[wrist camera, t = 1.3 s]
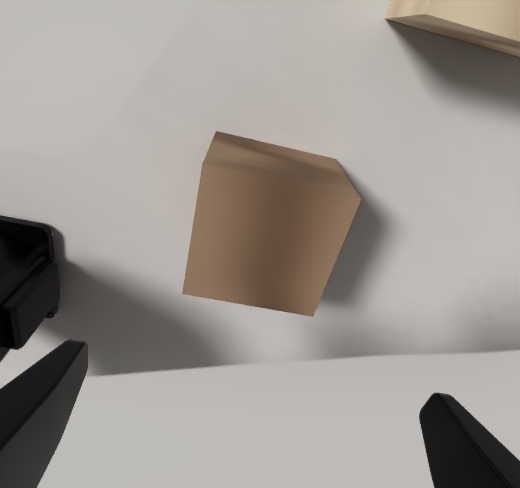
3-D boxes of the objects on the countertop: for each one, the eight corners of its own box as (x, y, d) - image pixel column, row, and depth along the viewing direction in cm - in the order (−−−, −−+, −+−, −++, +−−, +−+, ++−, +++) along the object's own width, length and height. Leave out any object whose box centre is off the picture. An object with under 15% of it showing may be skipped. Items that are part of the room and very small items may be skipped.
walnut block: (198, 237, 20) (182, 293, 16) (216, 130, 17) (202, 163, 13) (301, 257, 21) (313, 316, 16) (335, 158, 18) (361, 198, 13)
